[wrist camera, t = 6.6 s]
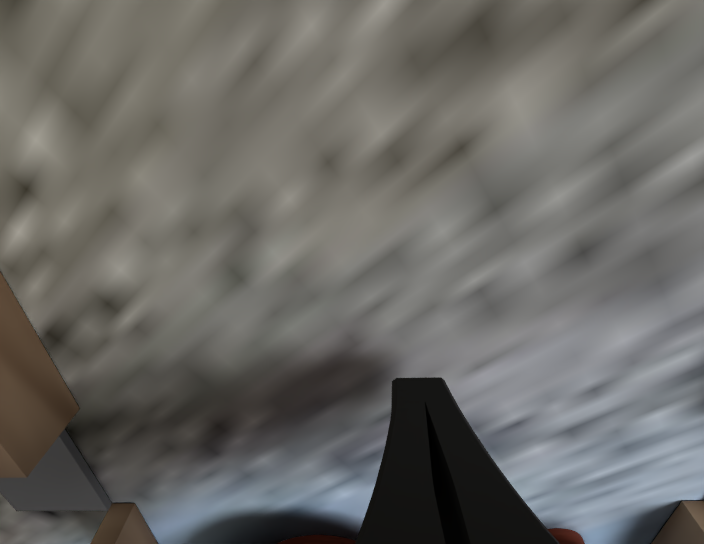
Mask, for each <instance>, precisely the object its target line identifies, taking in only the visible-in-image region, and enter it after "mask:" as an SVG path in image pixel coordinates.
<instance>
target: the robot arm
mask: <svg viewBox="0 0 704 544" xmlns="http://www.w3.org/2000/svg"><path fill="white" fill-rule="evenodd" d="M355 544H560V543H559V542H558V541H557V540H556V539H555V537H554V536H553V535H552V534H551V533H550V532H549V531H548V529H547V528H546V527H545V526H544V525H543V524H542V522H541V521H540V520H539V519H538V518H537V516H536V515H535V514H534V513H533V512H532V510H531V509H530V508H529V507H528V506H527V504H526V503H525V502H524V501H523V499H522V498H521V497H520V495H519V494H518V493H517V492H516V490H515V489H514V488H513V486H512V485H511V484H510V482H509V481H508V480H507V478H506V477H505V476H504V474H503V473H502V472H501V470H500V469H499V468H498V466H497V465H496V463H495V462H494V461H493V459H492V458H491V456H490V455H489V454H488V452H487V451H486V449H485V448H484V446H483V445H482V443H481V442H480V440H479V439H478V437H477V436H476V434H475V433H474V431H473V430H472V428H471V426H470V425H469V423H468V422H467V420H466V418H465V417H464V415H463V413H462V412H461V410H460V408H459V407H458V405H457V403H456V401H455V400H454V398H453V396H452V394H451V392H450V390H449V388H448V387H447V385H446V382H445V381H444V380H443V379H442V378H396V379H395V380H393V381H392V409H391V420H390V426H389V431H388V436H387V441H386V446H385V450H384V454H383V458H382V462H381V465H380V469H379V473H378V477H377V480H376V484H375V487H374V490H373V494H372V497H371V500H370V503H369V506H368V509H367V512H366V515H365V518H364V521H363V524H362V526H361V529H360V532H359V534H358V537H357V540H356V542H355Z"/></svg>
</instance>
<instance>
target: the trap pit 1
mask: <svg viewBox="0 0 704 544" xmlns="http://www.w3.org/2000/svg"><path fill="white" fill-rule="evenodd" d="M0 493H1V494H2V495H3V496H4V497H5V498H6V500H7V501H8V502H9V503H10V504H11V505H12V506H13V508H14V509H15V510H16V511H108V510H109V508H110V506H111V504H112V503H111V501H110V500H109V498H108V496H107V495H106V493H105V492H104V490H103V489H102V487H101V485H100V484H99V482H98V481H97V479H96V478H95V476H94V474H93V473H92V471H91V470H90V468H89V466H88V465H87V463H86V462H85V460H84V459H83V457H82V455H81V454H80V452H79V451H78V449H77V448H76V446H75V444H74V443H73V441H72V440H71V438H70V437H69V435H68V433H67V432H66V430H65V429H64V430H63V431H62V433H61V434H60V435H59V437H58V438H57V439H56V440H55V442H54V443H53V444H52V446H51V447H50V448H49V450H48V451H47V452H46V453H45V455H44V456H43V457H42V459H41V460H40V461H39V463H38V464H37V465H36V466H35V468H34V469H33V470H32V472H31V473H30V474H29V476H28V477H27V478H0Z"/></svg>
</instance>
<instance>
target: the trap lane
mask: <svg viewBox="0 0 704 544" xmlns="http://www.w3.org/2000/svg"><path fill="white" fill-rule="evenodd" d="M79 409H80V408H79V407H78V405H77V403H76V401H75V400H74V398H73V396H72V394H71V393H70V391H69V389H68V388H67V386H66V384H65V382H64V381H63V379H62V377H61V375H60V374H59V372H58V370H57V369H56V367H55V365H54V363H53V362H52V360H51V358H50V357H49V355H48V353H47V351H46V350H45V348H44V346H43V344H42V343H41V341H40V339H39V338H38V336H37V334H36V332H35V331H34V329H33V327H32V325H31V324H30V322H29V320H28V319H27V317H26V315H25V313H24V312H23V310H22V308H21V307H20V305H19V303H18V301H17V300H16V298H15V296H14V294H13V293H12V291H11V289H10V288H9V286H8V284H7V282H6V281H5V279H4V277H3V275H2V274H1V272H0V478H27V477H28V476H29V474H30V473H31V472H32V470H33V469H34V468H35V466H36V465H37V464H38V463H39V461H40V460H41V459H42V457H43V456H44V455H45V453H46V452H47V451H48V450H49V448H50V447H51V446H52V444H53V443H54V442H55V440H56V439H57V438H58V437H59V435H60V434H61V433H62V431H63V430H64V429H65V427H66V426H67V425H68V423H69V422H70V421H71V420H72V418H73V417H74V416H75V414H76V413H77V412H78V410H79ZM90 544H158V543H157V541H156V539H155V538H154V536H153V534H152V532H151V531H150V529H149V527H148V525H147V524H146V522H145V520H144V519H143V517H142V515H141V513H140V512H139V510H138V508H137V506H136V505H135V503H114V504H111V506H110V508H109V510H108V512H107V514H106V516H105V517H104V519H103V521H102V523H101V525H100V527H99V529H98V530H97V532H96V534H95V536H94V538H93V540H92V542H91V543H90ZM651 544H704V501H682V502H681V503H680V504H679V506H678V507H677V509H676V510H675V511H674V513H673V514H672V516H671V517H670V518H669V520H668V521H667V522H666V524H665V525H664V527H663V528H662V529H661V531H660V532H659V534H658V535H657V536H656V538H655V539H654V541H653V542H652V543H651Z"/></svg>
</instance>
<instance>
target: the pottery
mask: <svg viewBox="0 0 704 544" xmlns="http://www.w3.org/2000/svg"><path fill="white" fill-rule="evenodd" d="M548 531H549V532H550V533H551V534H552V535H553V536H554V537H555V539H556V540H557V541H558V542H559V543H560V544H585V543H584V541H583V539H582V537H581V535H580V534H578V533H577V532H575V531H572V530H568V529H561V528H553V529H548ZM355 542H356V541H355V540H352V539H348V538H344V537H338V536H331V535H306V536H299V537H294V538H290V539H287V540H284V541H281V542H279V543H277V544H355Z"/></svg>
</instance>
